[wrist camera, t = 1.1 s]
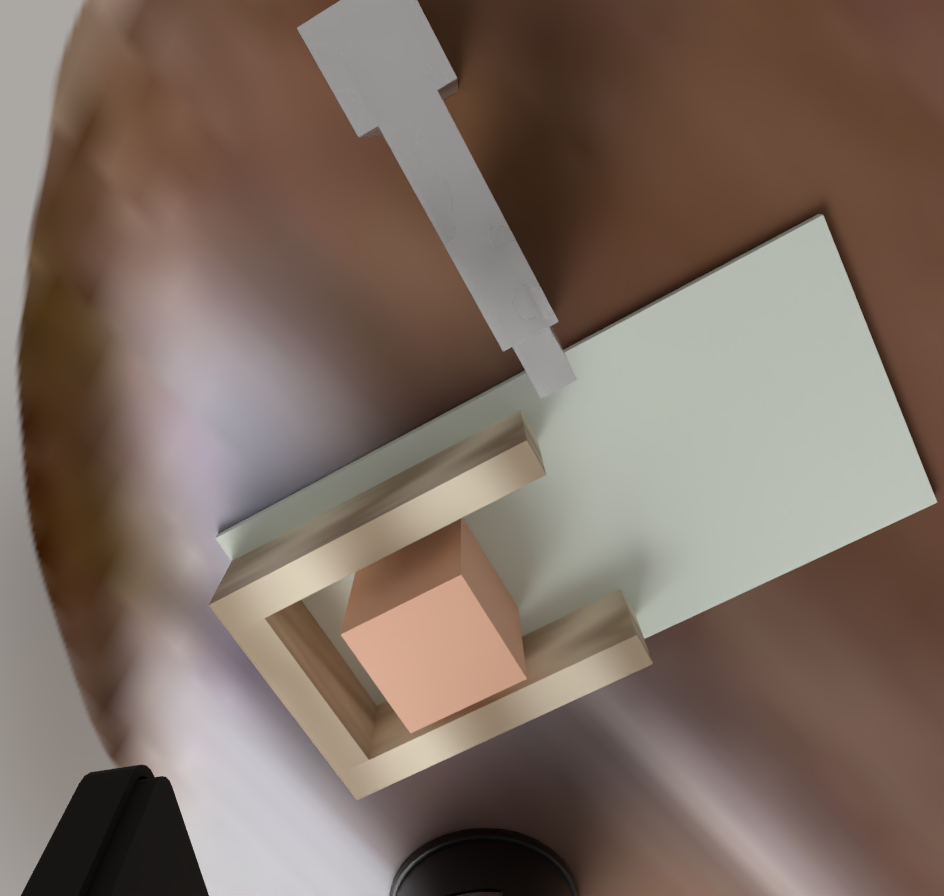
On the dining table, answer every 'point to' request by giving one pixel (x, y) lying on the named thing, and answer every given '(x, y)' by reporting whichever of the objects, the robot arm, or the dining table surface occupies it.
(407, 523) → the frame
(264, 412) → the dining table surface
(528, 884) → the french press
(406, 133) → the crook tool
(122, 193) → the dining table surface
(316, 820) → the dining table surface
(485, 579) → the block
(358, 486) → the mat
